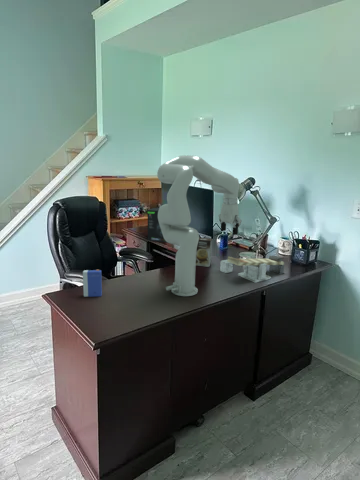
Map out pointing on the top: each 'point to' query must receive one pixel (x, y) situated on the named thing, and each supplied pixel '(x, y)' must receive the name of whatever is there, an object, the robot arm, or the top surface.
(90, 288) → the walkman
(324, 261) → the top surface
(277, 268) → the beam stand
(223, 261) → the block
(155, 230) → the headset box
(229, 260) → the beam
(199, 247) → the coffee box
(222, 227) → the robot arm
